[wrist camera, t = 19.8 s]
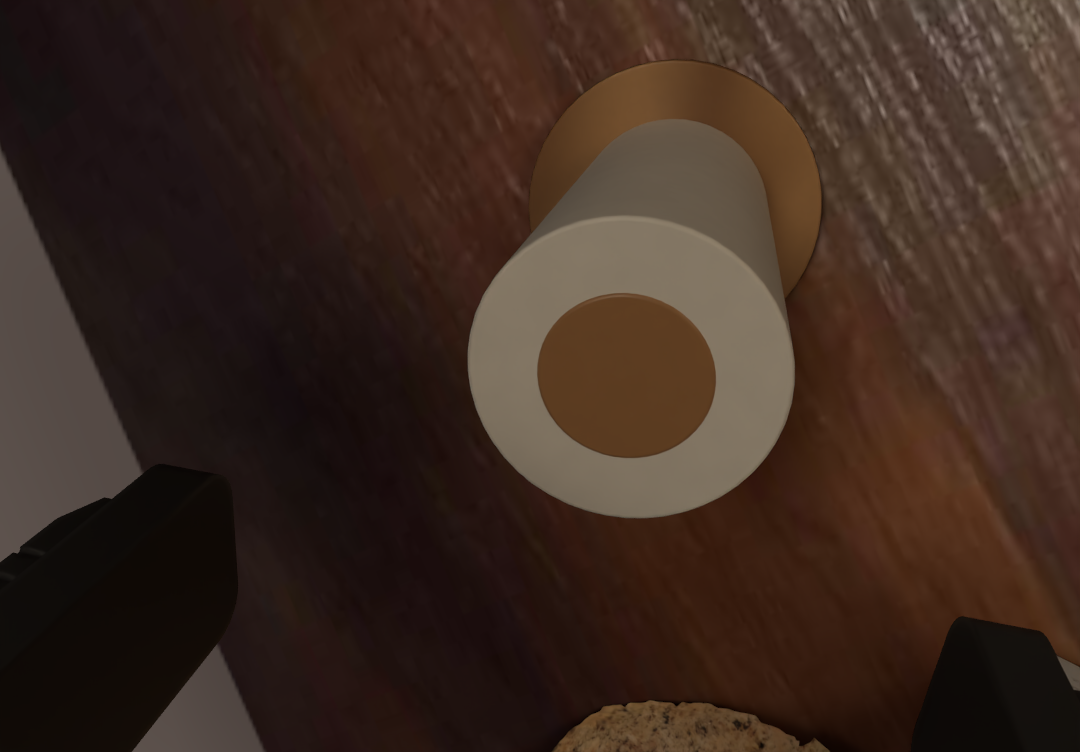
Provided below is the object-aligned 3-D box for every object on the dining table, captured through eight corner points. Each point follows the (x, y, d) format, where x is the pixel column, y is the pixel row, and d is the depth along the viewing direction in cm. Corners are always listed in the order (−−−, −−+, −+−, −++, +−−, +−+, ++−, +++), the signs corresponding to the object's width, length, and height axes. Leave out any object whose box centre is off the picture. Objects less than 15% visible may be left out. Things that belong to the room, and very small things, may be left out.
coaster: (521, 321, 30) (517, 327, 30) (544, 44, 27) (541, 45, 26) (787, 362, 29) (788, 369, 28) (850, 76, 25) (853, 78, 25)
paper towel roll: (457, 490, 17) (474, 194, 15) (569, 290, 29) (589, 107, 27) (759, 547, 16) (830, 242, 14) (748, 316, 28) (785, 130, 26)
